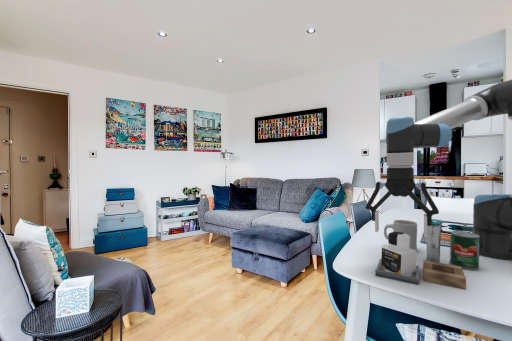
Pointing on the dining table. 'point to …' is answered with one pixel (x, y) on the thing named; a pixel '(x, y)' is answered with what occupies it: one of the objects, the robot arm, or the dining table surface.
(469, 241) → the canned tomato
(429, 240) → the pin
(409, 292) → the dining table surface
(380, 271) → the dock cradle
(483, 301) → the dining table surface
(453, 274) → the frame
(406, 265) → the medicine bottle
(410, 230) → the mug
